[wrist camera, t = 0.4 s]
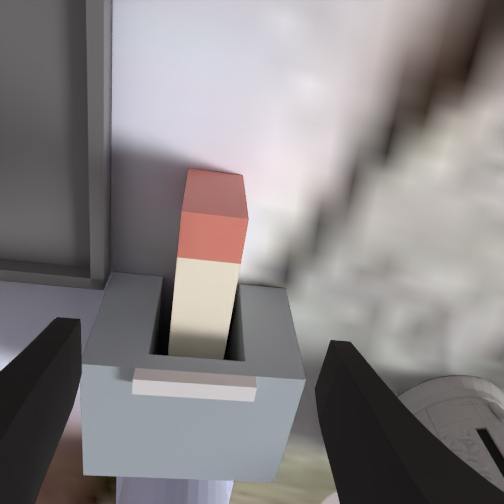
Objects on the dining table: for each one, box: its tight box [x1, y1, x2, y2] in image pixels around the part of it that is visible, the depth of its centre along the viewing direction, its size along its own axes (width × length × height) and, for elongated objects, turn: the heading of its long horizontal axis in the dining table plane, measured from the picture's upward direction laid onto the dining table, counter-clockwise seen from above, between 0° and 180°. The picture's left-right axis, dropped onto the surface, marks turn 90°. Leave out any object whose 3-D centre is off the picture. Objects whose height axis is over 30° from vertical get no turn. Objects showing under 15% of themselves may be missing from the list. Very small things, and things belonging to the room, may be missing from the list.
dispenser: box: [80, 272, 306, 482], centre depth 22 cm, size 7×9×7 cm
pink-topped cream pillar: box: [168, 168, 249, 360], centre depth 21 cm, size 10×2×4 cm, turn 171°
